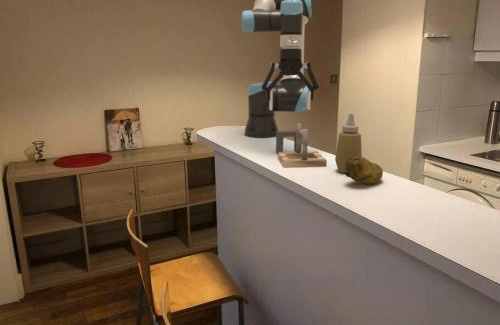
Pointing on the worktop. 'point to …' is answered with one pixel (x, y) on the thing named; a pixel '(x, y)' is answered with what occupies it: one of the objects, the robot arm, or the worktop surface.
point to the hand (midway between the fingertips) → (289, 109)
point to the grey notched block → (280, 139)
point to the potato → (363, 170)
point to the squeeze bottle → (348, 144)
